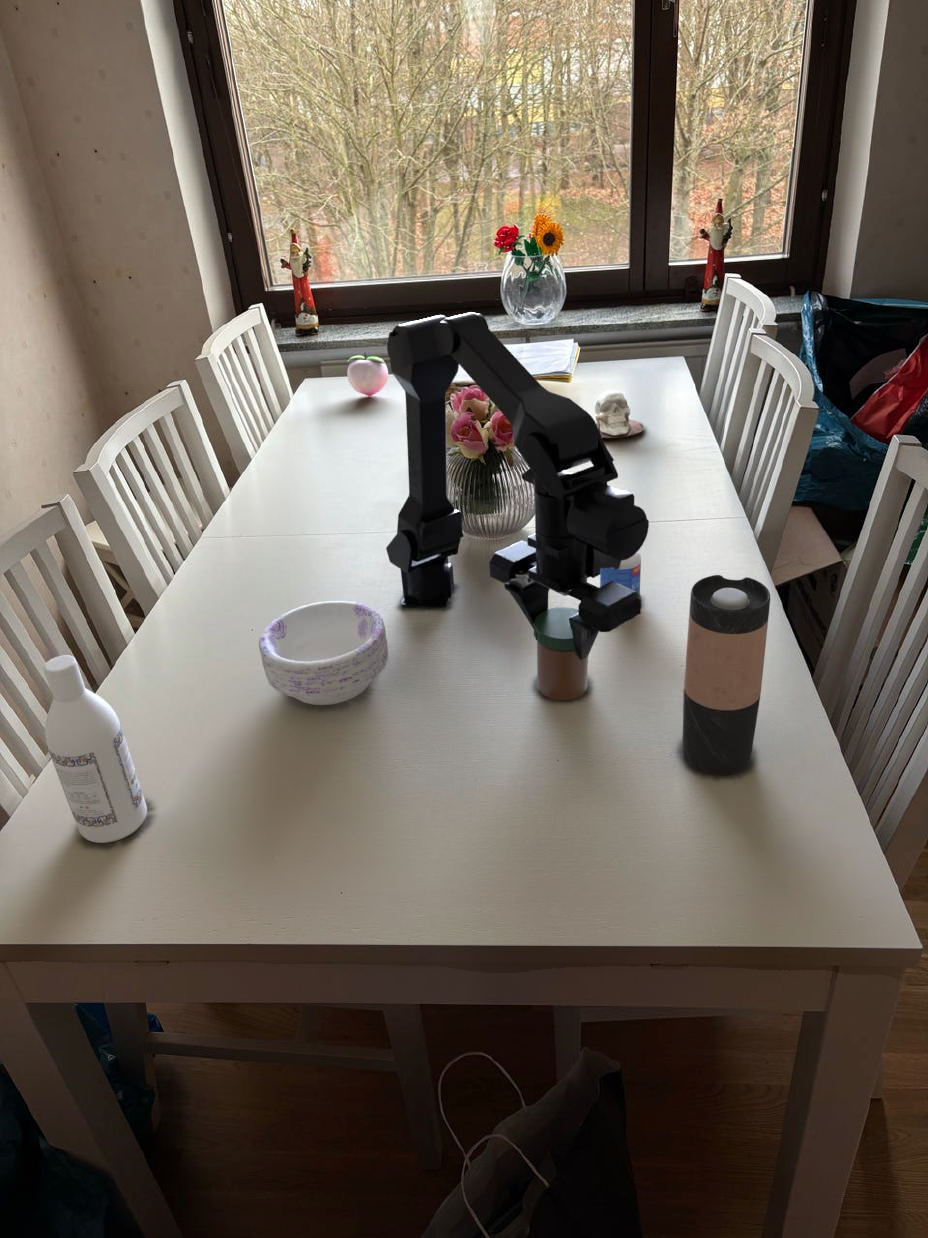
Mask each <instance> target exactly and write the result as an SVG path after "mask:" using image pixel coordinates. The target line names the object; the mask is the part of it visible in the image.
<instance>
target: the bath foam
mask: <svg viewBox="0 0 928 1238" xmlns="http://www.w3.org/2000/svg"><path fill="white" fill-rule="evenodd" d="M43 672H44V675H45V677H46V680H47V683H48V686H49V689H50V691H51V694H52V696H53V700H52V702H51V704H50V707H49V710H48V712H47V715H46V719H45V723H44V737H45V742H46V747H47V750H48V752H49V756H50V758H51V761H52V763H53V767H54V769H55V772H56V774H57V777H58V779H59V782H60V785H61V788H62V790H63V793H64V795H65V798H66V801H67V803H68V806H69V809H70V811H71V814H72V816H73V819H74V821H75V824H76V827H77V829H78V832H79V833H80V835H81V836H82V837H83V838H84V839H85V840H87V841H89V842H92V843H97V844H107V843H112V842H116V841H120V840H122V839H125V838H126V837H128V836H130V835H131V834H133V833H134V832H136V831H137V830H138V829H139V828H140V827H141V825H142V824H143V823H144V822H145V819H146V818H147V814H148V807H147V804H146V799H145V796H144V795H143V794H144V793H143V790H142V787H141V783H140V782H139V781H140V780H139V778H138V774H137V772H136V768H135V765H134V761H133V759H132V756H131V753H130V750H129V746H128V743H127V740H126V736H125V734H124V731H123V728H122V725H121V721H120V720H119V717H118V716H117V714H116V711H115V710H114V709H113V708H112V707H111V705H110V704H109V703H108V702H107V701H106V700H105V699H104V698H102V697H101V696H99V695H98V694H96V693H94V692H92V690H90V689H88V688H86V687H85V682H84V680H83V677H82V674H81V671H80V668H79V664H78V662H77V660H76V658H75V657H74V656H73V655H69V654H68V655H67V654H63V655H58V656H55V657H53V658H51V659H49V660H48V661H46V663H44V665H43Z"/></svg>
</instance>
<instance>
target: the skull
mask: <svg viewBox="0 0 928 1238" xmlns="http://www.w3.org/2000/svg"><path fill="white" fill-rule="evenodd" d="M594 415H595V422H596V424H597V426H598V430H599V432H600V434H601V436H602V439H605V438H606V439H621V438H627V437H631V436H634V435H638V434H640V433H642V432H643V431H644V430H645V426H644V425H643V424H642V423H641V422H637V421H634V420H630V417H629V416H630V415H631V408H630V406H629V405H628V401H627V399H626V398H625V395H624V393H622V392H621V391H619V390H614V389H613V390H612V389H611V390H607V391H605V392H603V393H602V394H600V395H599V396H598V398H597V399H596V401H595V403H594Z"/></svg>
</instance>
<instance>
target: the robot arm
mask: <svg viewBox="0 0 928 1238" xmlns="http://www.w3.org/2000/svg"><path fill="white" fill-rule="evenodd" d="M386 352H387V355H388V358H389V363H390V370H391V374H392V376H394V378H395V379H396V381H397V382H398V384H399V385H400V386H401V388H402V389H403V390H404V394H405V395H404V396H405V415H406V441H407V442H406V443H407V444H406V445H407V468H408V469H407V471H408V473H407V474H408V496H407V498H406V500H405V502H404V503H403V505H402V507H401V509H400V510H399V512H398V513H397V514H398V515H397V527H396V534H395V536H394V537H393V538H392V540H391V541H389V543H388V545H387V546H386V548H385V550H386V553H387V556H388V557H387V558H388V560H389V562H390V563H391V564H392V565H394V566H395V567H397V568H398V569H400V577H401V586H402V594H403V596H402V598H401V601H400V606H401V607H402V608H429V609H444V608H447V606H448V603H449V601H450V599H451V598H452V597H453V593H454V591H455V578H454V568H453V564H452V563H449V557H451V556H455V555H458V553H459V548H460V543H461V540H462V538H464V531H463V519H464V518H463V517H464V515H463V514H462V512H461V511H460V510H458V509H457V508H456V506H455V504H453V502H452V501H451V500H450V499H449V498H448V474H447V473H448V469H447V467H448V466H447V465H448V464H447V463H448V462H447V461H448V459H447V457H448V455H447V393H448V390H449V389H450V387H451V385H452V383H453V382H454V380H455V378H456V376H457V374H458V372H459V369H460V367H461V368H462V369H463V370H464V372H465V373H466V374H467V375H468V376H469V378H470V379H471V380H472V381H473V382H474V383H475V384H476V386H478V388H479V389H480V390H481V391H482V392H483V393H484V394H485V396H486V397H487V398H488V399H489V400H490V401H491V402H492V404H494V406H496V408H497V409H498V410H499V411H500V412H501V413H502V414H503V416H504V418H506V419H507V421H508V423H509V424H510V425H511V427H512V436H513V445H514V446H515V449H517V451H518V452H519V454H520V455H521V457H522V458H523V460H524V461H525V463H526V465H527V466H528V467H529V468H528V469H527V470H525V471H524V472H523V473H521V479H522V480H523V481H525V482H526V483H529V484H531V485H533V489H534V490H533V491H534V530H535V531H534V533H533V534H531V535H528V536H527V541H523V540H520V541H518V542H516V543H513V544H511V545H510V546H507V547H505V548H503V549H501V550H497V551H496V552H494V553H493V555H492V557H491V558H490V560H489V562H488V564H489V577H491V578H492V579H495V580H496V581H498V582H501V583H503V585H504V589H505V590H506V591H507V592H509V594H510V595H511V596H512V598H513V599H514V601H515V603H516V604H517V605H518V607H519V609H520V610H521V611H522V613H523V614H524V616H525V618H526V620H527V621H528V623H529V625H530V626H531V628H532V630H534V622H535V618H536V617H537V616H538V615H539V614H540V613H542V612H543V611H545V610H548V609H549V592H550V590H552V591H553V592H555V593H558V594H559V595H562V596H563V597H564V596H565V597H566V596H569V597H571V598H573V599H576V600H577V601H580V602H579V604H578V613H577V614H575V615H573V616H572V617H570V618H569V623H570V627H571V631H572V635H573V639H574V643H575V647H576V651H577V654H578V657H579V659H581V660H583V659H585V658H586V657H588V658H589V654H590V652H591V651H592V648H593V646H594V644H595V641H596V639H597V637H598V635H599V632H600V633H609V632H611V631H613V630H615V629H617V628H618V627H620V626H622V625H624V624H626V623H627V622H629V621H631V620H632V619H634V618H636V617H638V616H639V615H641V613H642V596H641V594H640V595H639V594H638V593H637V592H636V591H634V590H631V589H629V588H627V587H625V586H622V585H620V584H618V583H616V582H613V581H611V582H609V583H607V584H605V585H603V586H601V587H600V586H599V587H598V586H597V585H594V584H592V583H590V582H588V579H589V578H592V579H594V578H596V577H599V576H600V569H601V568H614V569H619V568H620V564H621V561H622V560H626V559H629V558H630V557H632V556H633V555H635V553H636V552H637V551H640V549H641V548H642V546H643V545H644V543H645V541H646V539H647V536H648V533H649V527H650V526H649V525H650V520H649V519H648V518H647V514H646V512H645V510H644V509H643V508H641V506H638V505H636V504H635V497H636V496H635V495H634V494H633V493H632V492H630V491H627V490H622V489H618V488H616V487H613V486H611V485H608V482H611V481H614V480H617V479H618V478H619V473H618V471H617V468H616V466H615V464H614V461H615V459H614V457H613V456H612V455H611V453H610V451H609V449H608V448H607V446H606V443H605V441H604V438H602V436H601V434H600V432H599V430H598V426H597V424H596V422H597V421H596V420H595V419H594V417H593V416H592V415H591V414H590V413H589V412H588V411H587V410H586V409H584V408H583V407H581V405H579V404H577V403H576V402H575V401H573V399H571V398H569V397H567V396H564V395H561V394H557V393H554V392H552V391H549V390H548V389H547V388H545V387H544V386H542V384H540V383H539V381H538V380H537V379H536V378H535V377H534V376H533V375H532V374H531V373H530V372H529V370H527V368H526V367H525V365H523V364H522V362H520V360H518V358H516V357H515V355H513V353H512V352H511V351H510V350H509V349H508V347H506V346H505V344H503V343H502V341H500V339H499V338H498V337H497V336H496V335H495V334H494V332H492V330H491V329H490V327H489V324H488V322H487V319H486V318H485V316H484V315H483V314H481V313H476V312H472V311H470V312H466V313H463V314H458V315H453V316H450V317H447V316H445V315H442V314H439V315H434V316H431V317H427V318H423V319H419V320H413V321H409V322H405V323H402V324H398V325H396V326H394V328H393V329H392V330H391V331H389V334H388V337H387V343H386ZM589 462H590V463H591V464H592V466H590V467H587V468H583V469H582V470H578V471H576V472H571V471H569V470H570V469H573V468H576V467H578V466H581V465H584V464H587V463H589Z"/></svg>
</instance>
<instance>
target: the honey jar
mask: <svg viewBox="0 0 928 1238" xmlns="http://www.w3.org/2000/svg"><path fill="white" fill-rule="evenodd" d="M588 673H589V656H588V657H586V658H585V659H583V660H581V659H579V657H578V654H577V651H576V649H575V650H569V651H559V650H553V649H549V648H547V647H544V646H543V645H541V644H540V643H539V642H538V641H537V640H536V688H537V689H538V691H539V692H540V694H542V695H543V696H544V697H546V698H549V699H552V700H556V701H572V700H575V699H578V698H579V697H581V696H583V695H584V694H585V692H586V691H587V690H588Z"/></svg>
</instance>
